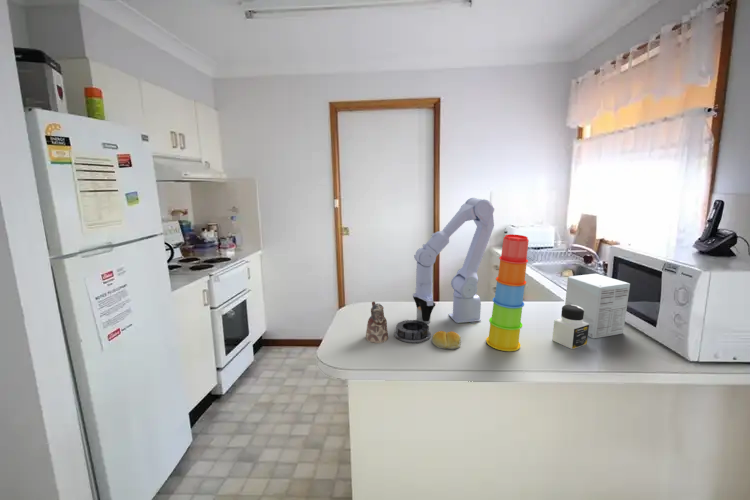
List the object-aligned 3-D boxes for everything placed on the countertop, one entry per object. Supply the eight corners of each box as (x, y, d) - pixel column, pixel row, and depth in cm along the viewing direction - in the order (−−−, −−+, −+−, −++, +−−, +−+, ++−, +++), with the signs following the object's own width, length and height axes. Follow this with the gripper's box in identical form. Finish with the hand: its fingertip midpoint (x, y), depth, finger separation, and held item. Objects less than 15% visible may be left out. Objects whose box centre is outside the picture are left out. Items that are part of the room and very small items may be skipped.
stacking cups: (505, 335, 123) (513, 231, 115) (527, 348, 113) (537, 237, 106) (479, 339, 119) (485, 233, 112) (499, 354, 110) (507, 239, 103)
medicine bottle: (572, 349, 112) (576, 312, 110) (551, 340, 118) (555, 305, 116) (587, 344, 115) (591, 308, 113) (566, 336, 122) (570, 301, 119)
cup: (427, 318, 137) (428, 304, 136) (432, 323, 132) (432, 309, 131) (414, 319, 136) (415, 305, 135) (418, 325, 131) (419, 310, 130)
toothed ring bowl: (424, 326, 130) (424, 318, 129) (435, 341, 118) (435, 332, 118) (390, 329, 128) (390, 320, 127) (399, 344, 116) (399, 335, 116)
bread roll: (433, 337, 122) (433, 326, 121) (461, 340, 120) (461, 328, 119) (430, 348, 114) (430, 336, 113) (460, 351, 112) (460, 339, 111)
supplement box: (624, 333, 123) (631, 283, 119) (593, 339, 119) (600, 287, 115) (590, 319, 135) (596, 272, 132) (561, 323, 132) (566, 276, 128)
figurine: (370, 344, 117) (370, 308, 114) (363, 335, 123) (362, 301, 121) (391, 340, 119) (391, 305, 117) (382, 332, 126) (382, 298, 123)
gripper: (407, 276, 137) (407, 311, 140) (419, 288, 123) (418, 326, 126) (426, 275, 138) (425, 310, 141) (439, 287, 124) (438, 325, 127)
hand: (423, 317), depth 134 cm, fingers closed on cup, 5 cm apart
